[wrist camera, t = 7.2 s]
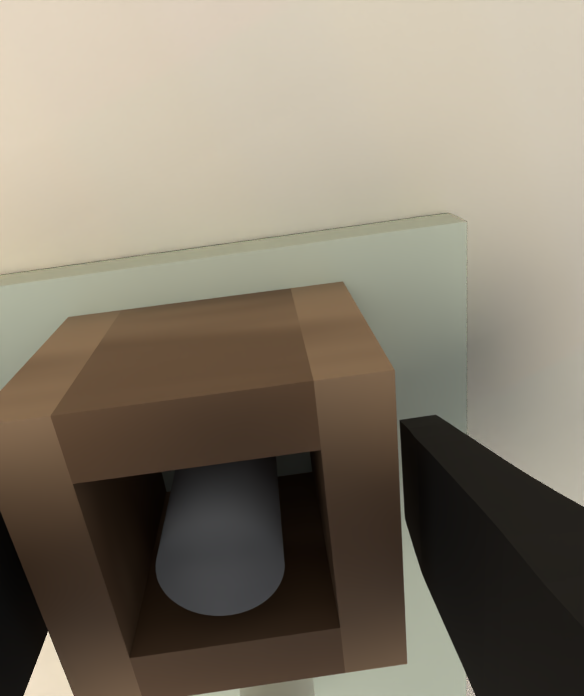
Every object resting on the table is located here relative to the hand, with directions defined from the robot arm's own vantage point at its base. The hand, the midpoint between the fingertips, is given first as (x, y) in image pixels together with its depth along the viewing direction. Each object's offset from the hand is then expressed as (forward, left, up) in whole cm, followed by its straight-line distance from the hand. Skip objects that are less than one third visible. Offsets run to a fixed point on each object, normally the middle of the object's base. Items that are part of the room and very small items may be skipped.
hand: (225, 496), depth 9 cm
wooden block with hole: (0, 0, -2) cm, 2 cm away
